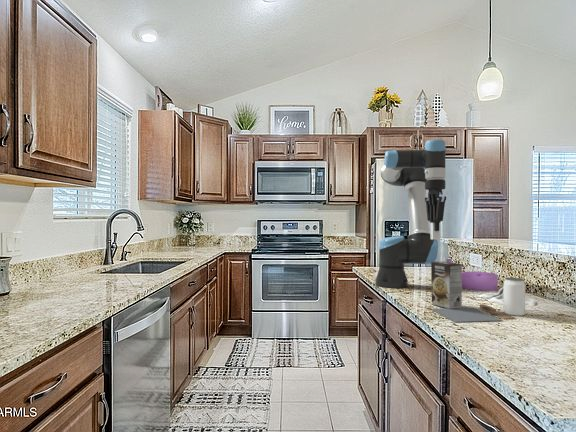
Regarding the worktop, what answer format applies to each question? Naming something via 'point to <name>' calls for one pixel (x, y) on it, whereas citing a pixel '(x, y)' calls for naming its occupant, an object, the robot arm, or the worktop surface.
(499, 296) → the cloth
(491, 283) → the container set
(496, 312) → the turner
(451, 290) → the coffee box
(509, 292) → the can
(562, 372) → the worktop surface
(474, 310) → the mat
